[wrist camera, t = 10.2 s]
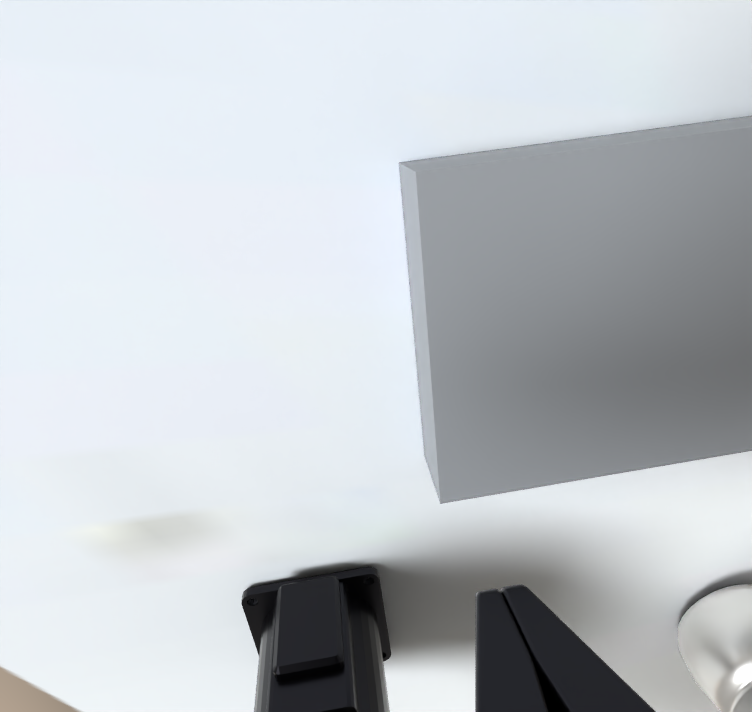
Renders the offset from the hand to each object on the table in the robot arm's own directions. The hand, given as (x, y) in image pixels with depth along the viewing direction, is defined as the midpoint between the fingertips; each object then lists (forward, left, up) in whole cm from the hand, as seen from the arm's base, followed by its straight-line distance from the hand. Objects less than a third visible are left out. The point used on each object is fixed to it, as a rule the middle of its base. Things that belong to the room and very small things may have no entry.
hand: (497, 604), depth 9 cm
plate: (0, -8, -12) cm, 14 cm away
